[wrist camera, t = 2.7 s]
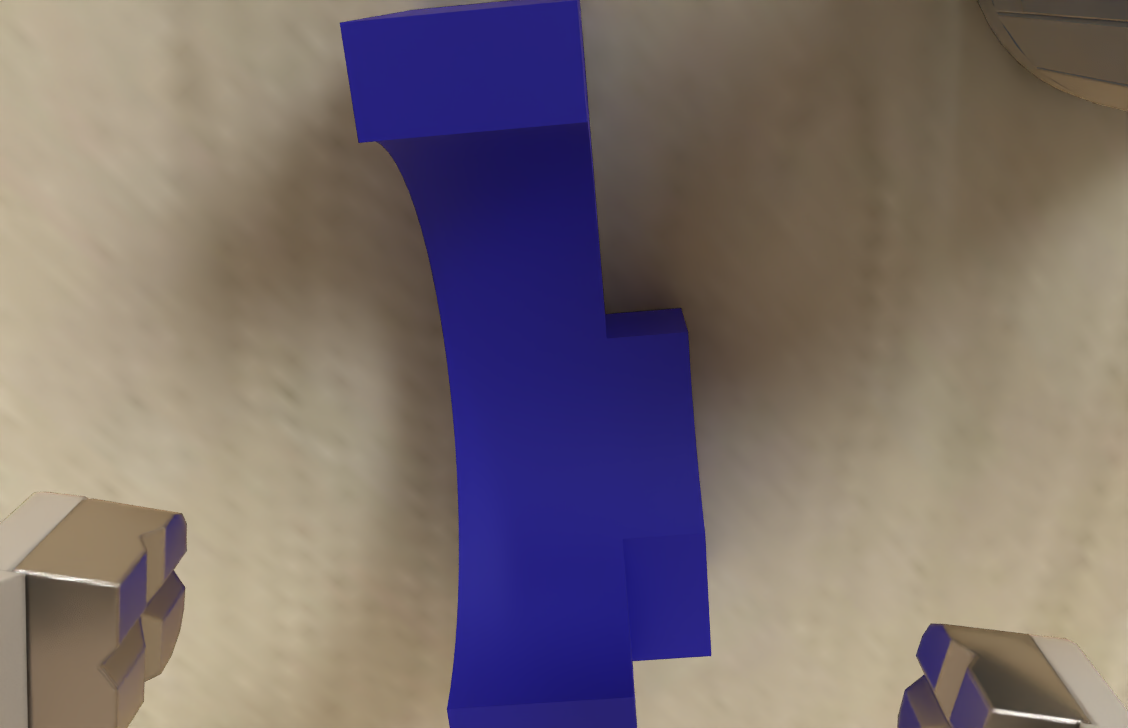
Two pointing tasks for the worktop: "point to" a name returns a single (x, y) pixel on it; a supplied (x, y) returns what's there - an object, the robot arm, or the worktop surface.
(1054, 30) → the tumbler
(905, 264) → the worktop surface
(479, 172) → the blue half clamp bracket
